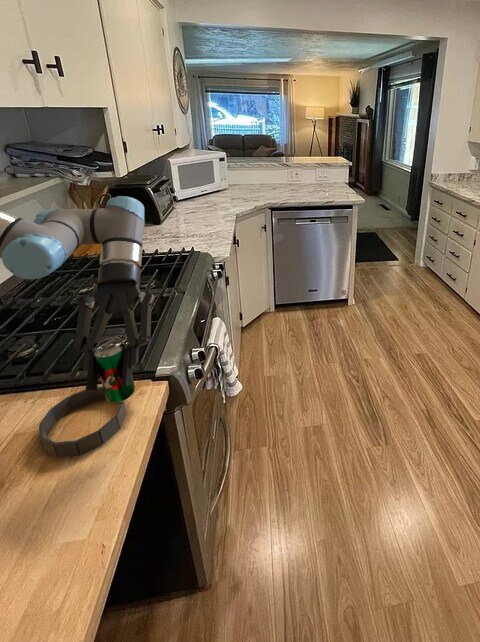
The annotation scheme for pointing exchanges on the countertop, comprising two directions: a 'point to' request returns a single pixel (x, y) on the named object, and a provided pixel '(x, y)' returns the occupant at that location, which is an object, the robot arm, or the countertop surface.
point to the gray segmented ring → (87, 441)
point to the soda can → (112, 369)
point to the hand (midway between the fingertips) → (108, 387)
